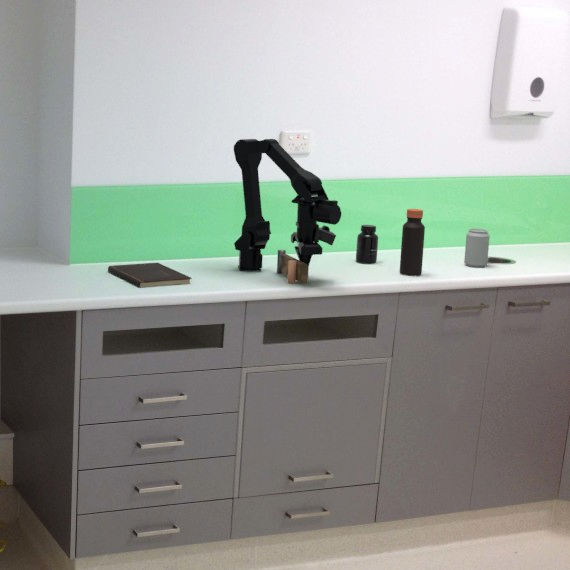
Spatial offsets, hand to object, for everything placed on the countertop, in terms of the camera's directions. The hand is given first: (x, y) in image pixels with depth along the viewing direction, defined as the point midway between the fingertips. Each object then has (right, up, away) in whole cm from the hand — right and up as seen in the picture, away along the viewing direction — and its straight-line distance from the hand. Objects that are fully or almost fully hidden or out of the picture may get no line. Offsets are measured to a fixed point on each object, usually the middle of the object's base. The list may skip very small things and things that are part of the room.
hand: (305, 271), depth 315 cm
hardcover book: (-45, -2, -5) cm, 46 cm away
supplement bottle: (+20, +3, +33) cm, 39 cm away
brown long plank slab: (-3, -2, 0) cm, 4 cm away
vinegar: (+33, -1, +17) cm, 37 cm away
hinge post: (-7, 0, +9) cm, 12 cm away
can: (+56, +2, +36) cm, 67 cm away
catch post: (-4, -3, -4) cm, 6 cm away
